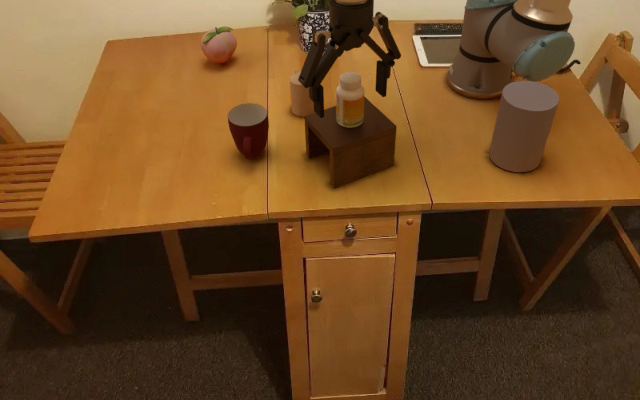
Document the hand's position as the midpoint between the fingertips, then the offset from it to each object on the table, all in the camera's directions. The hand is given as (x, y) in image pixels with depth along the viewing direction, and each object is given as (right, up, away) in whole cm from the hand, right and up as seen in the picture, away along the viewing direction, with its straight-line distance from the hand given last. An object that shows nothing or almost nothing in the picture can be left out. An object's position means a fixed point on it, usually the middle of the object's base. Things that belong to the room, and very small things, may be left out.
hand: (350, 103), depth 111 cm
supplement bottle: (0, -3, +3) cm, 4 cm away
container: (+34, -10, +9) cm, 37 cm away
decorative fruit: (-32, +17, +40) cm, 54 cm away
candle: (-10, +2, +23) cm, 25 cm away
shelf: (0, -10, +10) cm, 14 cm away
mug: (-20, -10, +11) cm, 25 cm away
